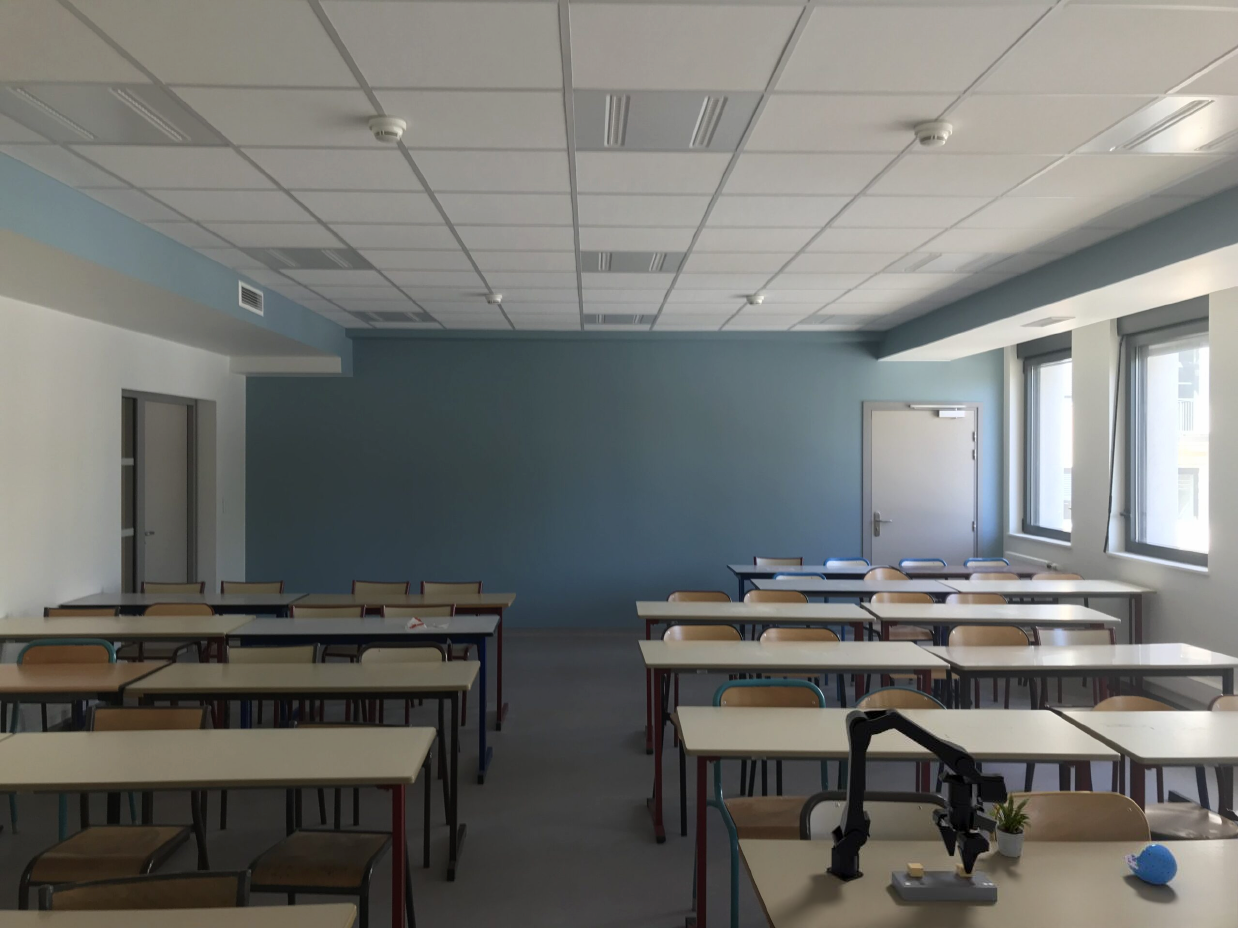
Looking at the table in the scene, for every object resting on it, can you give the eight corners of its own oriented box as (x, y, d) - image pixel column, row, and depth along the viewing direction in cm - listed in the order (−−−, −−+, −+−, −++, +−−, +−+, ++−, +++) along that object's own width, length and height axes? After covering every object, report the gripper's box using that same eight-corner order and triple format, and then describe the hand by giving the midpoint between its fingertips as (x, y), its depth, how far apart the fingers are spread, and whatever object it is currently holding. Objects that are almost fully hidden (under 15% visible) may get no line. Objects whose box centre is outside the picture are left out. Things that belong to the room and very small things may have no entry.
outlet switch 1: (911, 876, 193) (911, 867, 193) (907, 871, 196) (907, 863, 196) (923, 876, 193) (923, 867, 193) (919, 871, 196) (919, 863, 196)
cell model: (1148, 867, 206) (1148, 830, 206) (1188, 891, 194) (1188, 851, 194) (1113, 870, 205) (1113, 831, 205) (1151, 893, 193) (1151, 853, 193)
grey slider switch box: (903, 900, 188) (903, 886, 188) (891, 883, 196) (891, 870, 196) (997, 900, 189) (997, 886, 189) (981, 883, 197) (981, 870, 197)
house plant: (973, 856, 211) (973, 793, 211) (976, 836, 223) (977, 777, 224) (1034, 869, 204) (1034, 804, 205) (1034, 847, 217) (1035, 786, 217)
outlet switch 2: (960, 876, 194) (960, 867, 194) (956, 871, 196) (956, 863, 196) (973, 876, 194) (973, 868, 194) (968, 871, 196) (968, 863, 196)
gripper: (1011, 815, 189) (1011, 883, 188) (974, 786, 207) (974, 847, 207) (964, 815, 189) (964, 883, 188) (931, 785, 207) (931, 847, 207)
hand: (959, 864), depth 198 cm, fingers open, 9 cm apart
